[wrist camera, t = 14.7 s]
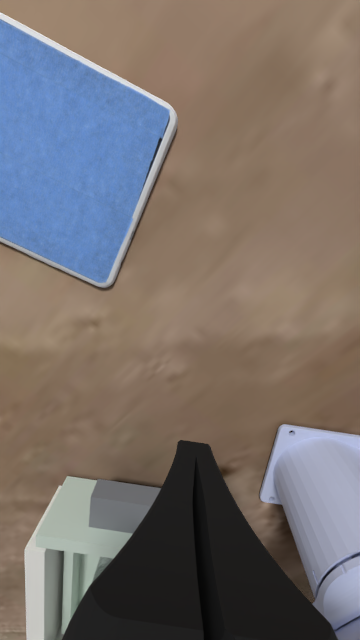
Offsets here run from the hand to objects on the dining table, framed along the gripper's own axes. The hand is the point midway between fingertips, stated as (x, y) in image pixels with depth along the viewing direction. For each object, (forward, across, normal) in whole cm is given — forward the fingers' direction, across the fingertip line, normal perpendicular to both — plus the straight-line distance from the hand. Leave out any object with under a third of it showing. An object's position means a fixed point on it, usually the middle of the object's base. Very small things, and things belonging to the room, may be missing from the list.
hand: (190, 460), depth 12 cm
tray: (+10, +3, +19) cm, 22 cm away
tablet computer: (+11, +14, -14) cm, 22 cm away
